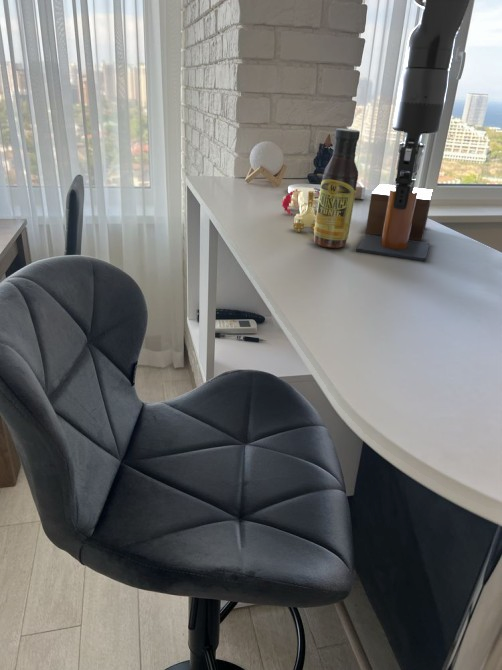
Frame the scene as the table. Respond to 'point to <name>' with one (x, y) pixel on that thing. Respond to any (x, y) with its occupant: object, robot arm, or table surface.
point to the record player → (359, 188)
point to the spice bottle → (398, 221)
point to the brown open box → (380, 205)
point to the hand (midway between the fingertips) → (401, 205)
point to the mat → (412, 251)
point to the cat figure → (302, 207)
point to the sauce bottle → (337, 192)
